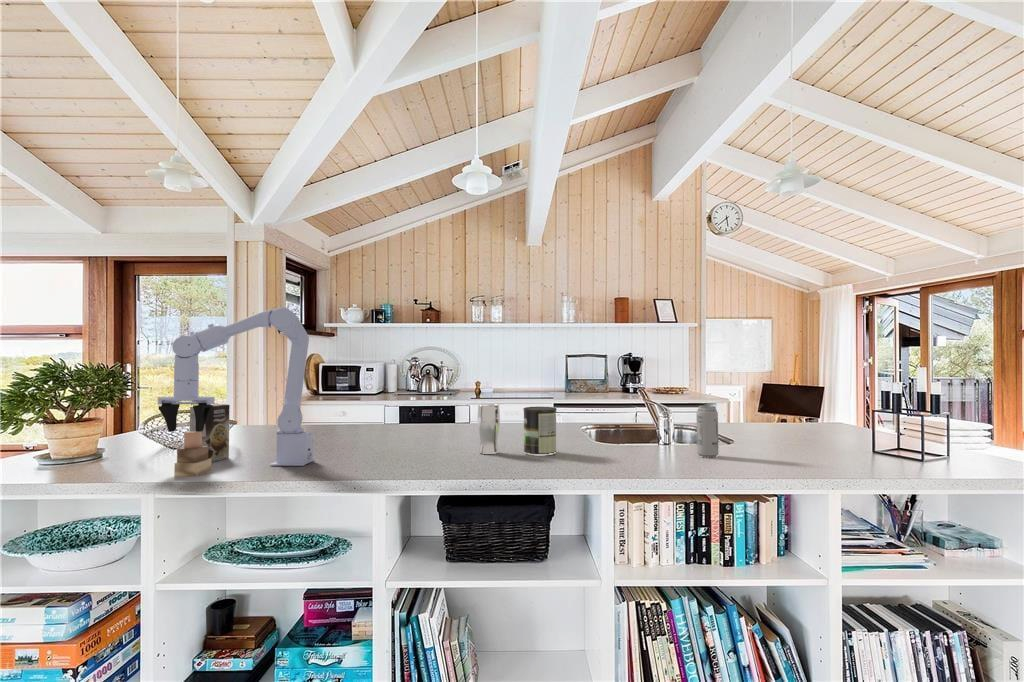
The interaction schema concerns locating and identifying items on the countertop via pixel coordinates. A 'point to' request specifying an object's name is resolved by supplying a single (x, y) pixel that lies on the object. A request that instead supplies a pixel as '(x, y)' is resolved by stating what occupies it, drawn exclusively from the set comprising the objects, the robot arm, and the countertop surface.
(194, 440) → the light brown wooden cube
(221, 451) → the coffee box
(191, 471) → the oak slab
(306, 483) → the countertop surface
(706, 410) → the energy drink can
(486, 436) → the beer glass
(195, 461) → the walnut slab
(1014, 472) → the countertop surface
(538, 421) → the coffee can
